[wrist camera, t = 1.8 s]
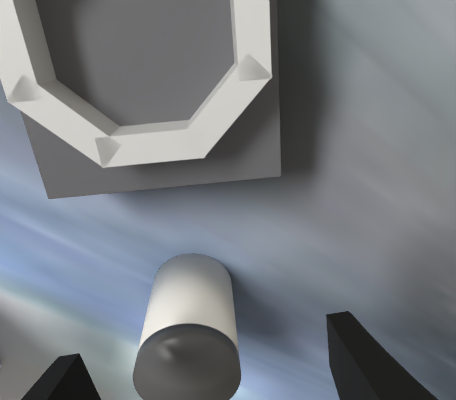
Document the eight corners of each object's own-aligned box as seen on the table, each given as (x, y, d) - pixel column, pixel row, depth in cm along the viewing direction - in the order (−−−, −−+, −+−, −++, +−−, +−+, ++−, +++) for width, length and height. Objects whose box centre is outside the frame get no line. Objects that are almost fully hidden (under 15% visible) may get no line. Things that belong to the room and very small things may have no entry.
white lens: (234, 313, 21) (244, 408, 15) (160, 320, 21) (143, 419, 15) (228, 249, 19) (237, 332, 14) (146, 257, 19) (122, 344, 14)
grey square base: (267, 151, 17) (289, 191, 12) (78, 169, 17) (30, 216, 12) (255, -152, 12) (283, -264, 8) (-3, -130, 12) (-127, -233, 8)
